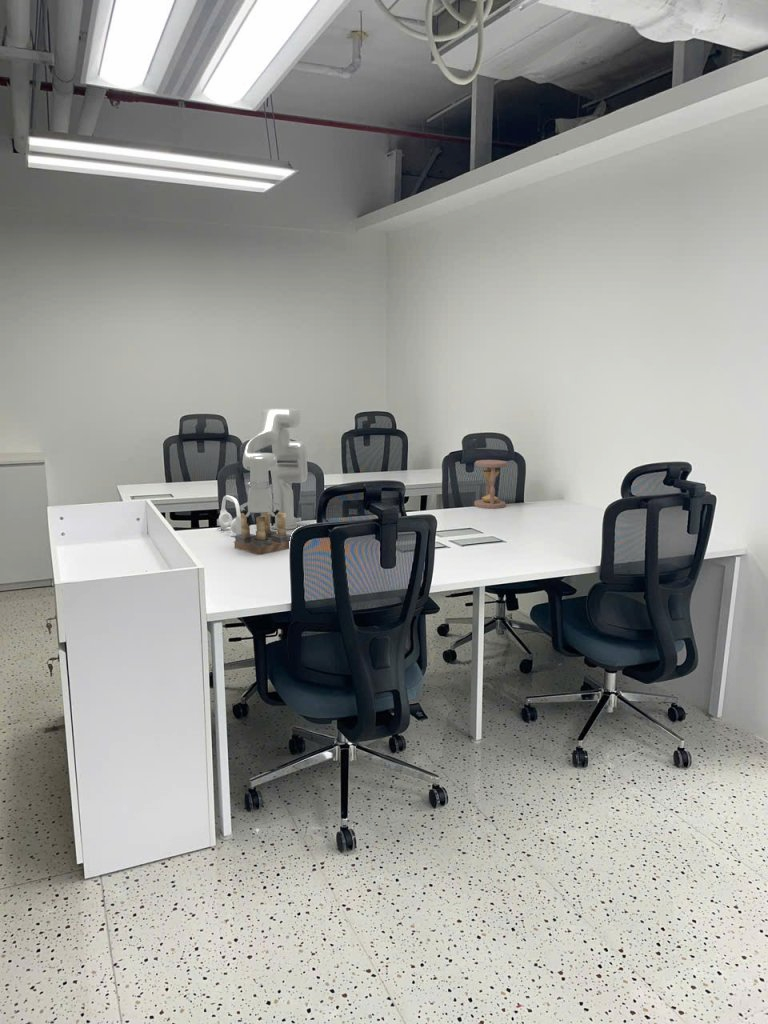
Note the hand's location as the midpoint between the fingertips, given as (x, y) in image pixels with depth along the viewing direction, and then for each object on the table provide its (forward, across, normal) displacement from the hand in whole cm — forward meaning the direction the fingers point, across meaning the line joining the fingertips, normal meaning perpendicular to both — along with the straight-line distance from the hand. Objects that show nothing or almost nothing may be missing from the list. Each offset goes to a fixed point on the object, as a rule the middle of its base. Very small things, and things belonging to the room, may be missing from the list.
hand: (261, 525), depth 317 cm
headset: (+12, -19, +36) cm, 43 cm away
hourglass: (+14, +114, +104) cm, 155 cm away
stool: (+12, 0, +7) cm, 14 cm away
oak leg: (+8, 0, -1) cm, 8 cm away
